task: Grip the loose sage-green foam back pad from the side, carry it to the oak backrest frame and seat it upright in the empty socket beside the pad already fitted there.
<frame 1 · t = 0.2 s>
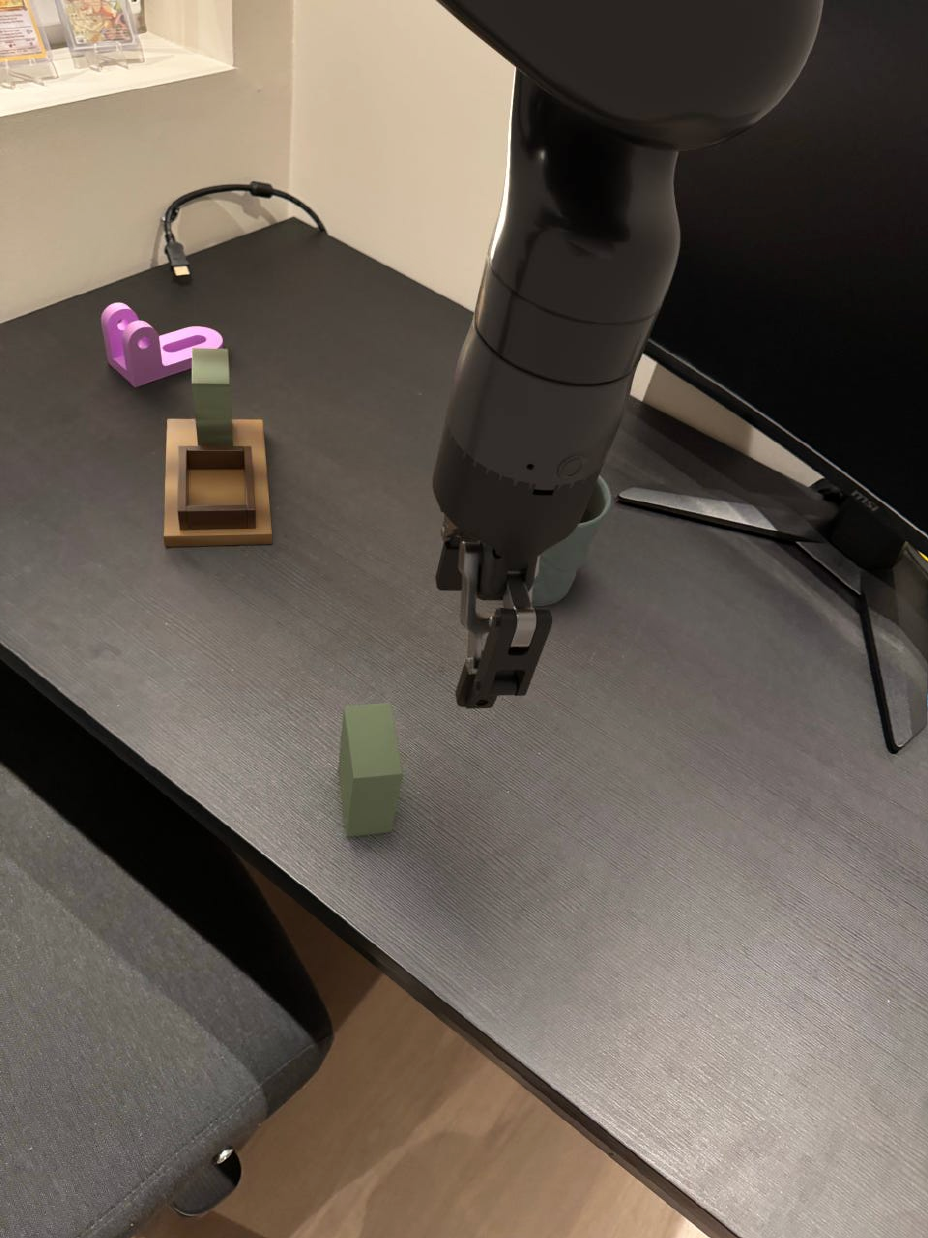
hand: (462, 641, 50), 22 cm above the table, tool pointing down, fingers open, 8 cm apart
grey green embossed cup: (528, 578, 86), on the table
backrest frame: (218, 507, 85), on the table
back pad: (364, 800, 67), on the table
bracket: (172, 359, 100), on the table
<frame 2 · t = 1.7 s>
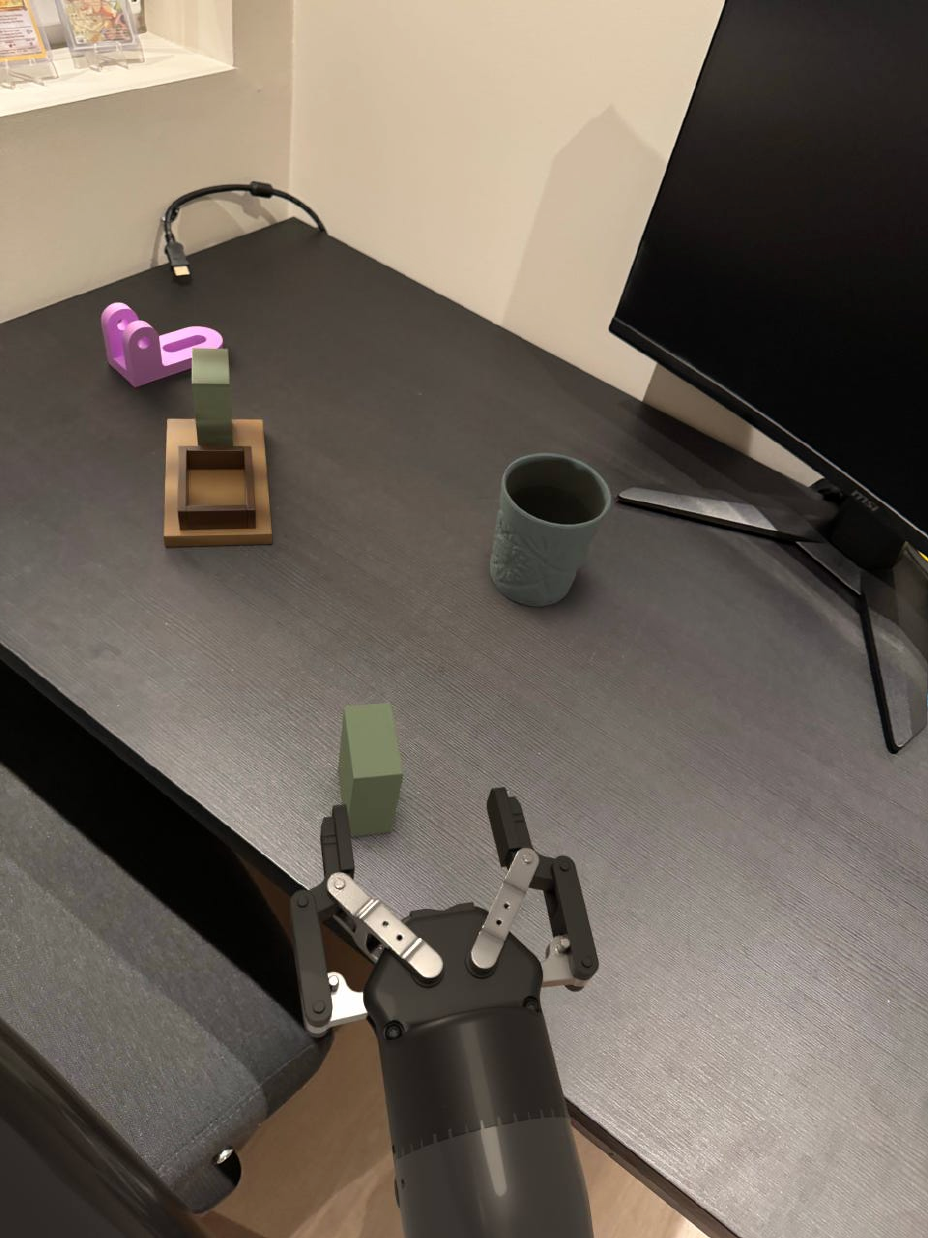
hand: (418, 802, 45), 20 cm above the table, tool horizontal, fingers open, 8 cm apart
nothing on the table moved.
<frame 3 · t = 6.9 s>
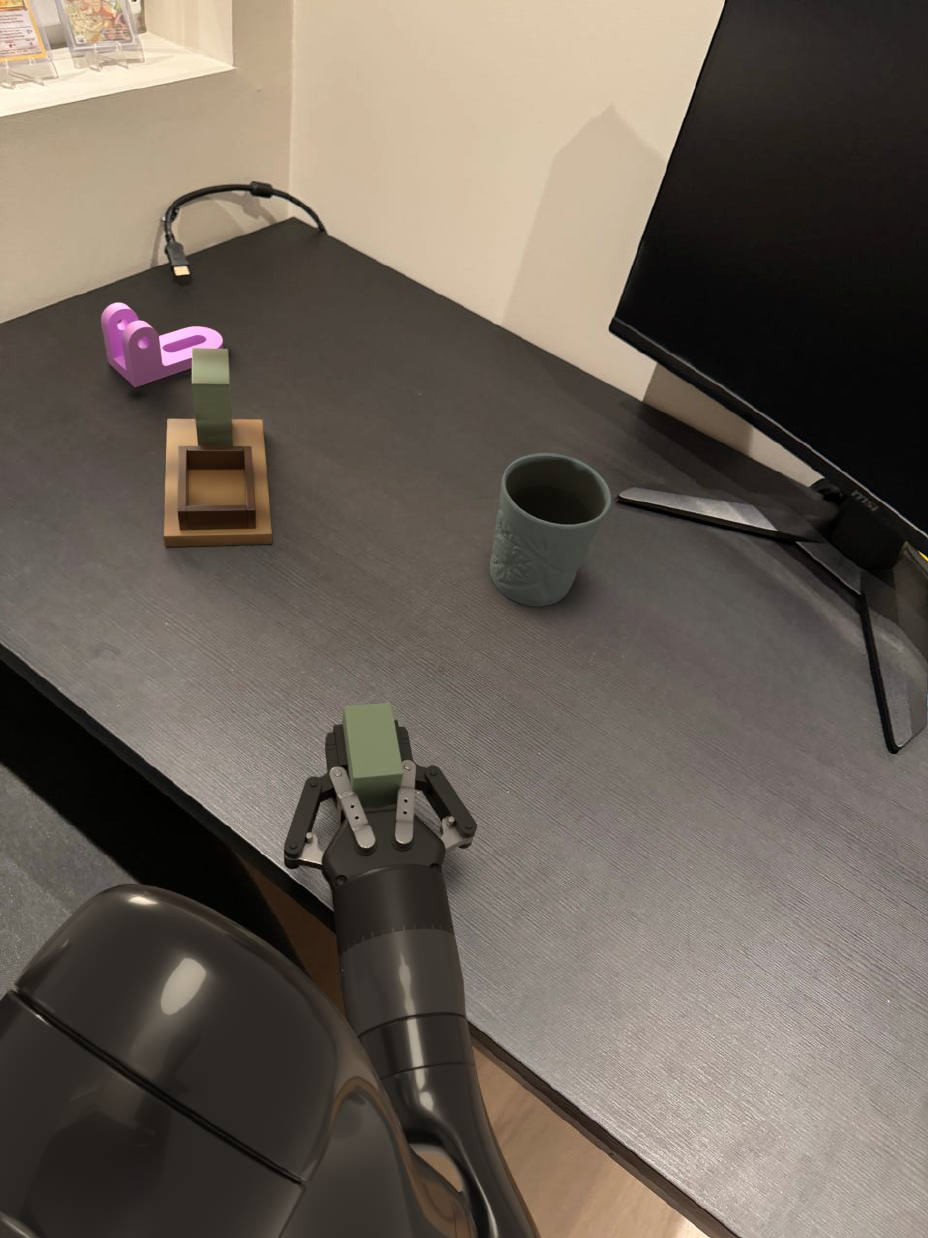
hand: (364, 728, 64), 6 cm above the table, tool horizontal, fingers closed on back pad, 3 cm apart
back pad: (363, 800, 67), on the table, touching gripper
everything else where it was.
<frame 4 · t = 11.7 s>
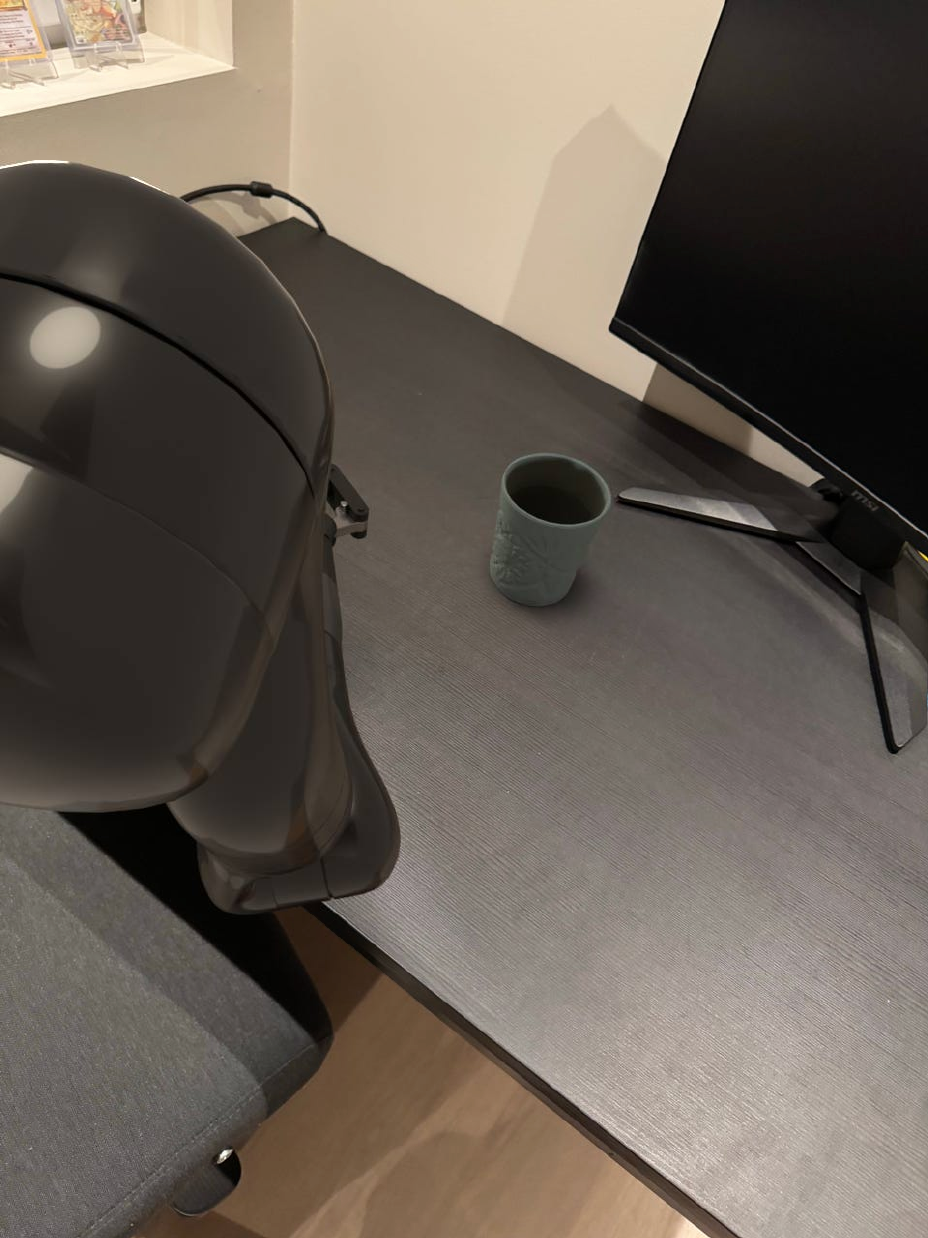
hand: (268, 439, 66), 18 cm above the table, tool horizontal, fingers closed on back pad, 3 cm apart
back pad: (271, 520, 68), point 12 cm above the table, touching gripper
everything else where it was.
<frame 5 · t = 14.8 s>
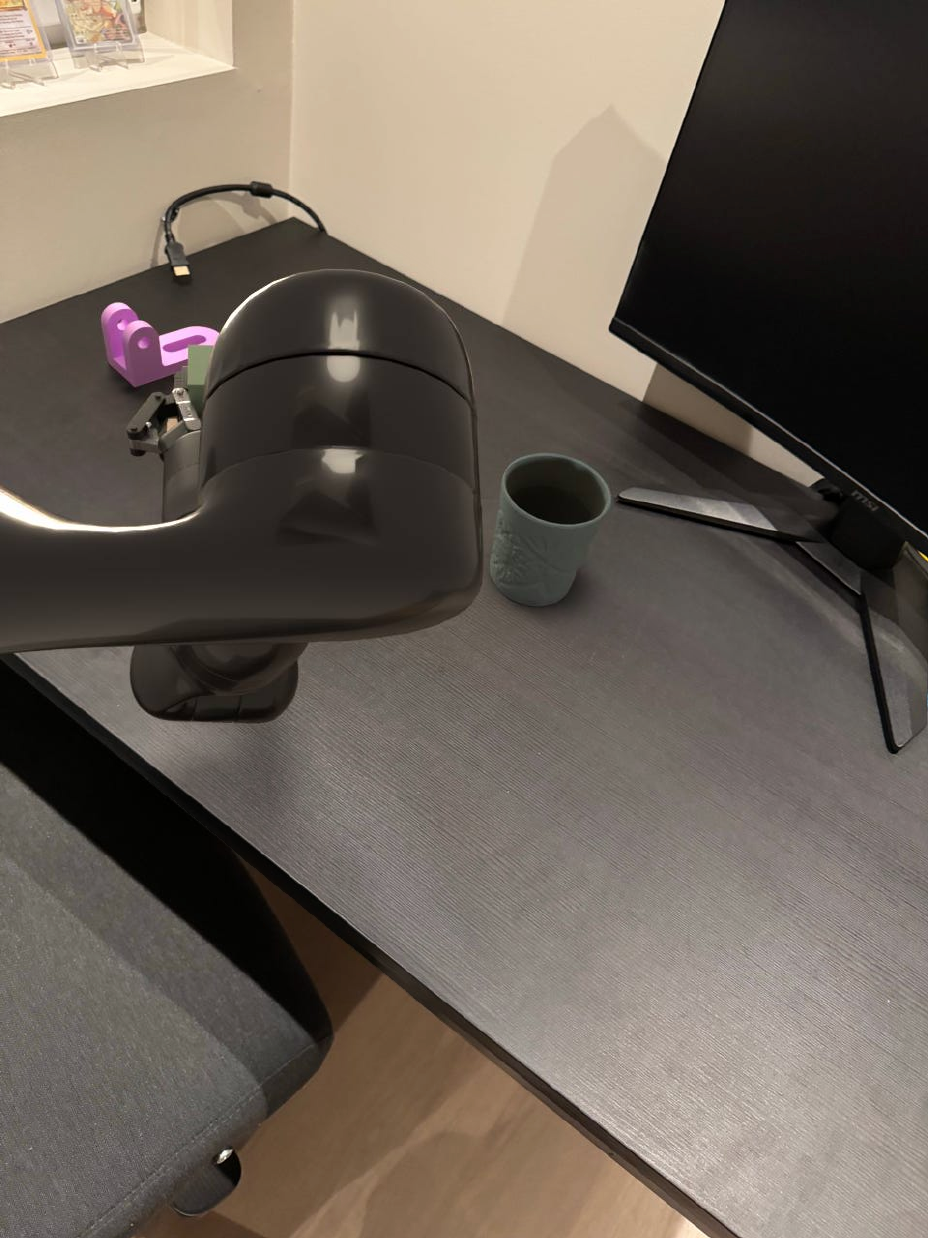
hand: (210, 375, 77), 14 cm above the table, tool horizontal, fingers closed on back pad, 3 cm apart
back pad: (215, 447, 79), point 8 cm above the table, touching gripper
everything else where it was.
when the fingers open (7 cm above the table, at t = 16.8 s): back pad stays where it is, resting on backrest frame.
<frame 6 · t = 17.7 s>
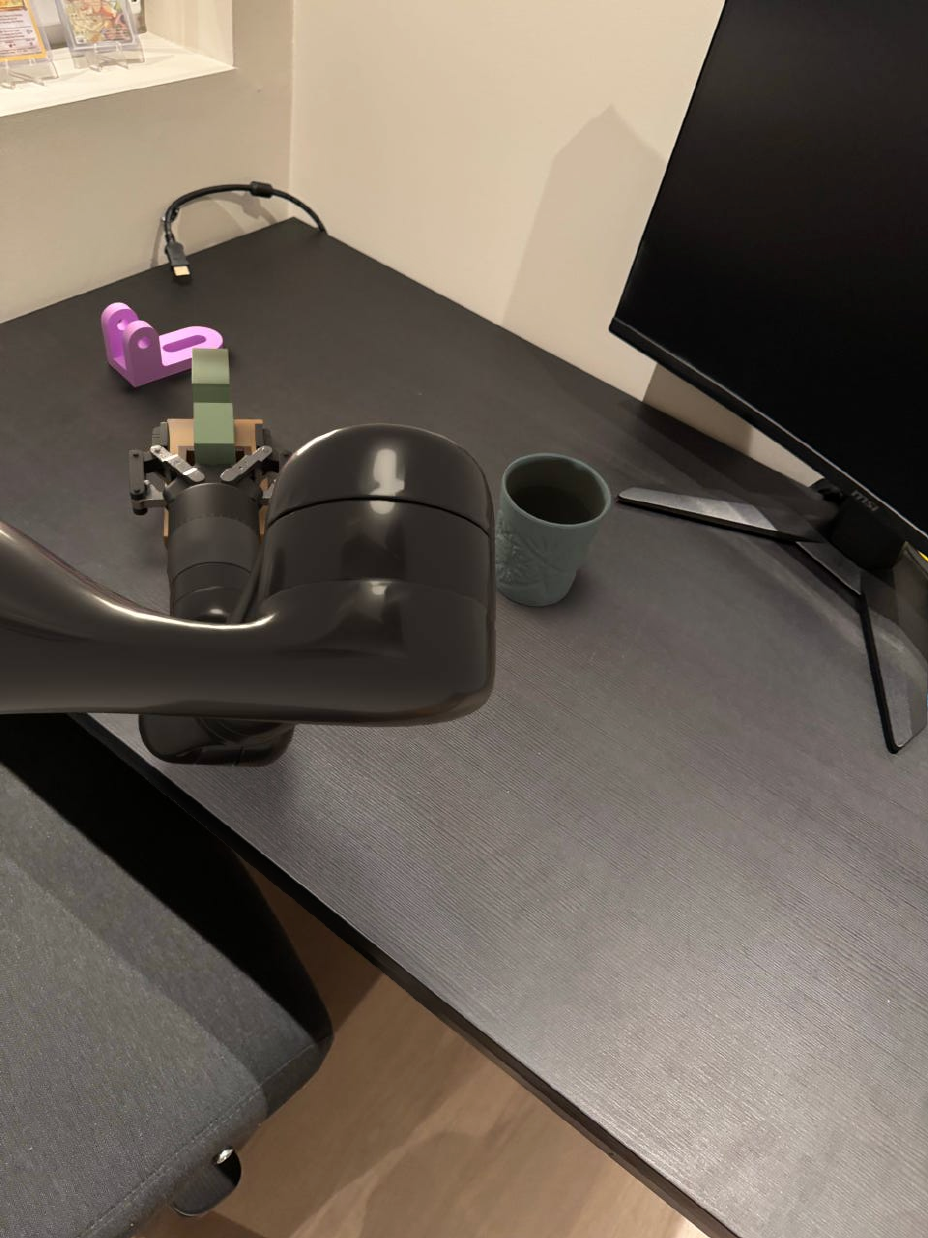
hand: (212, 429, 80), 8 cm above the table, tool horizontal, fingers open, 8 cm apart
back pad: (219, 496, 84), point 1 cm above the table, touching backrest frame
everything else where it was.
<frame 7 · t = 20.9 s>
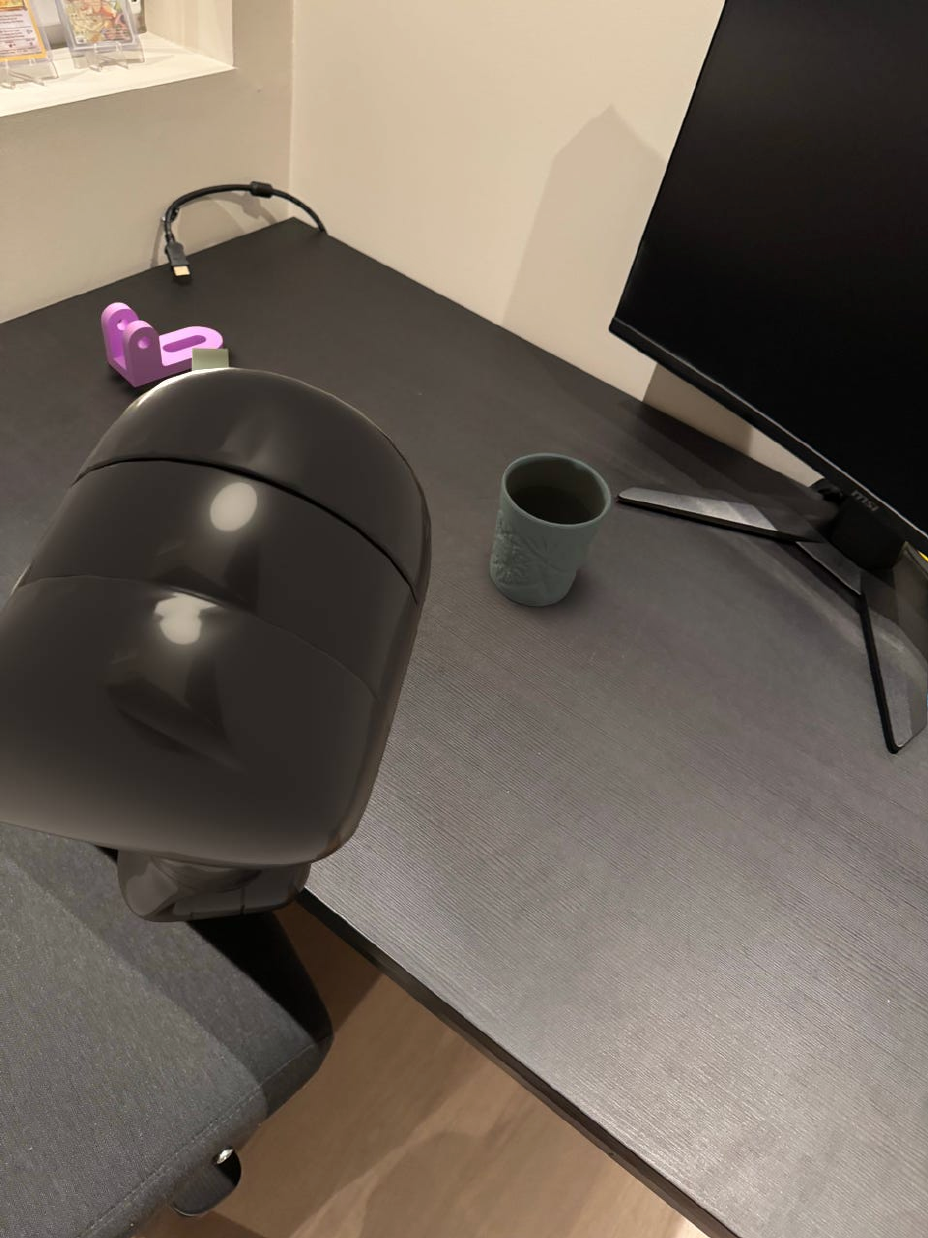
hand: (209, 475, 68), 14 cm above the table, tool horizontal, fingers open, 8 cm apart
nothing on the table moved.
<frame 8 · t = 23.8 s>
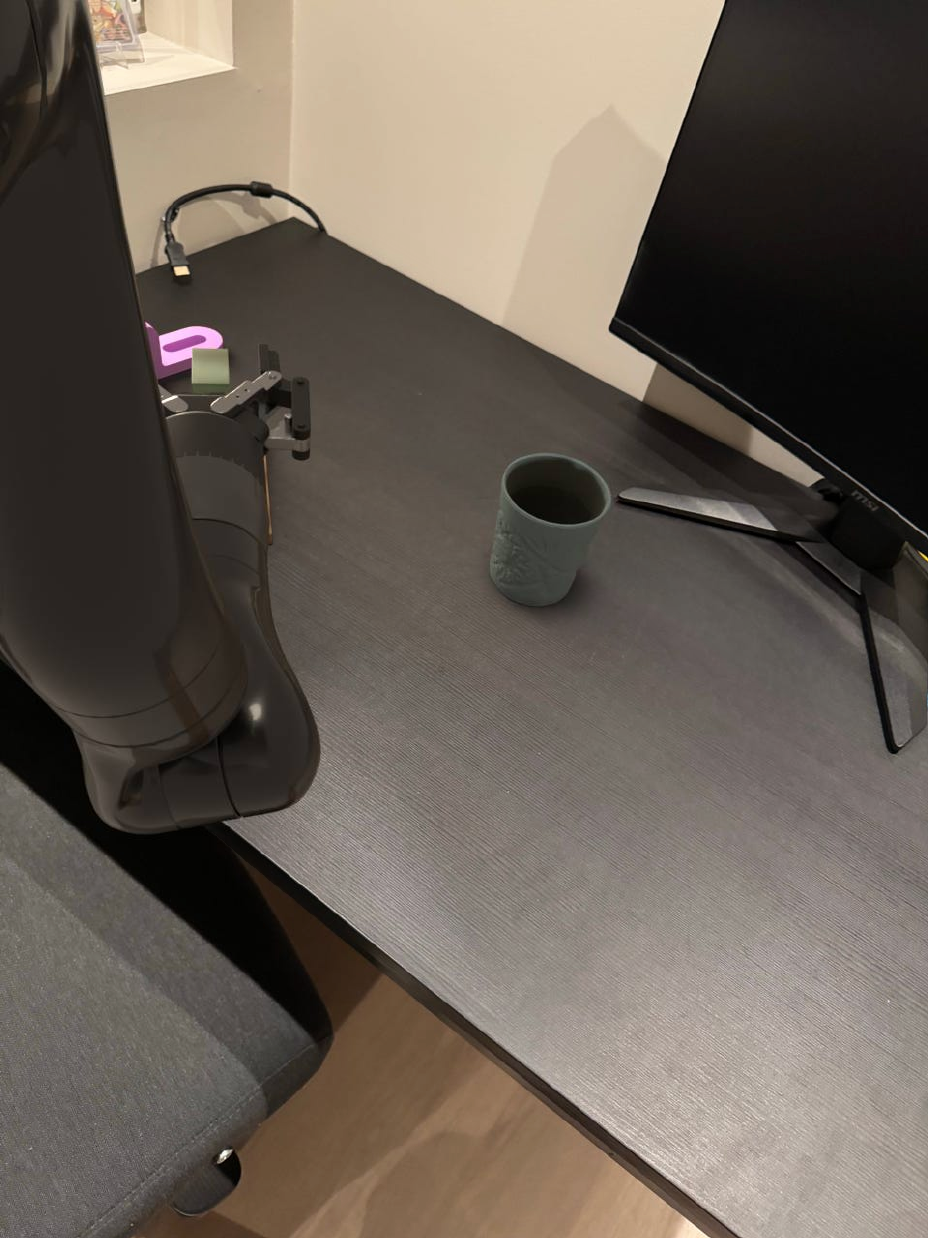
hand: (200, 352, 60), 25 cm above the table, tool horizontal, fingers open, 8 cm apart
nothing on the table moved.
at the end: back pad 0.1 cm off-centre on the backrest frame, point 1.5 cm above the backrest frame's base; back pad tilted 0°; the gripper is holding nothing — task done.
